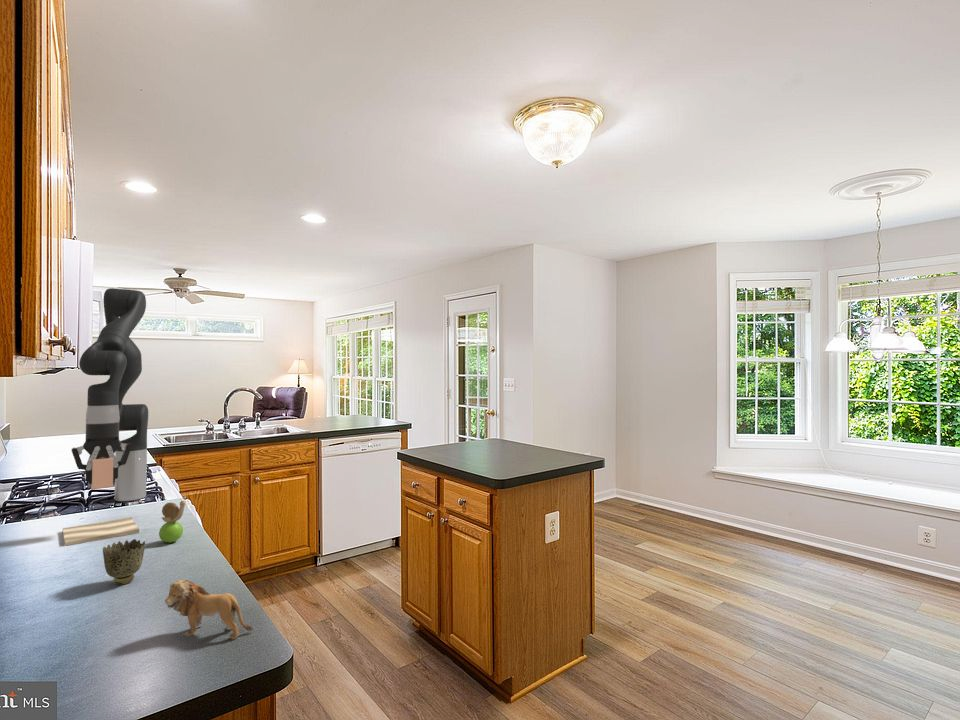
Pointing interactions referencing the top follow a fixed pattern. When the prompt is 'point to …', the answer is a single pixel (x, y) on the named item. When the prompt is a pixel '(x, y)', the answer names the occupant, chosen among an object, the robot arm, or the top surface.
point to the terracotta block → (102, 473)
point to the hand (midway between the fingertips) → (101, 481)
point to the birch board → (99, 531)
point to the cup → (123, 560)
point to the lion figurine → (204, 606)
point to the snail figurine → (172, 522)
